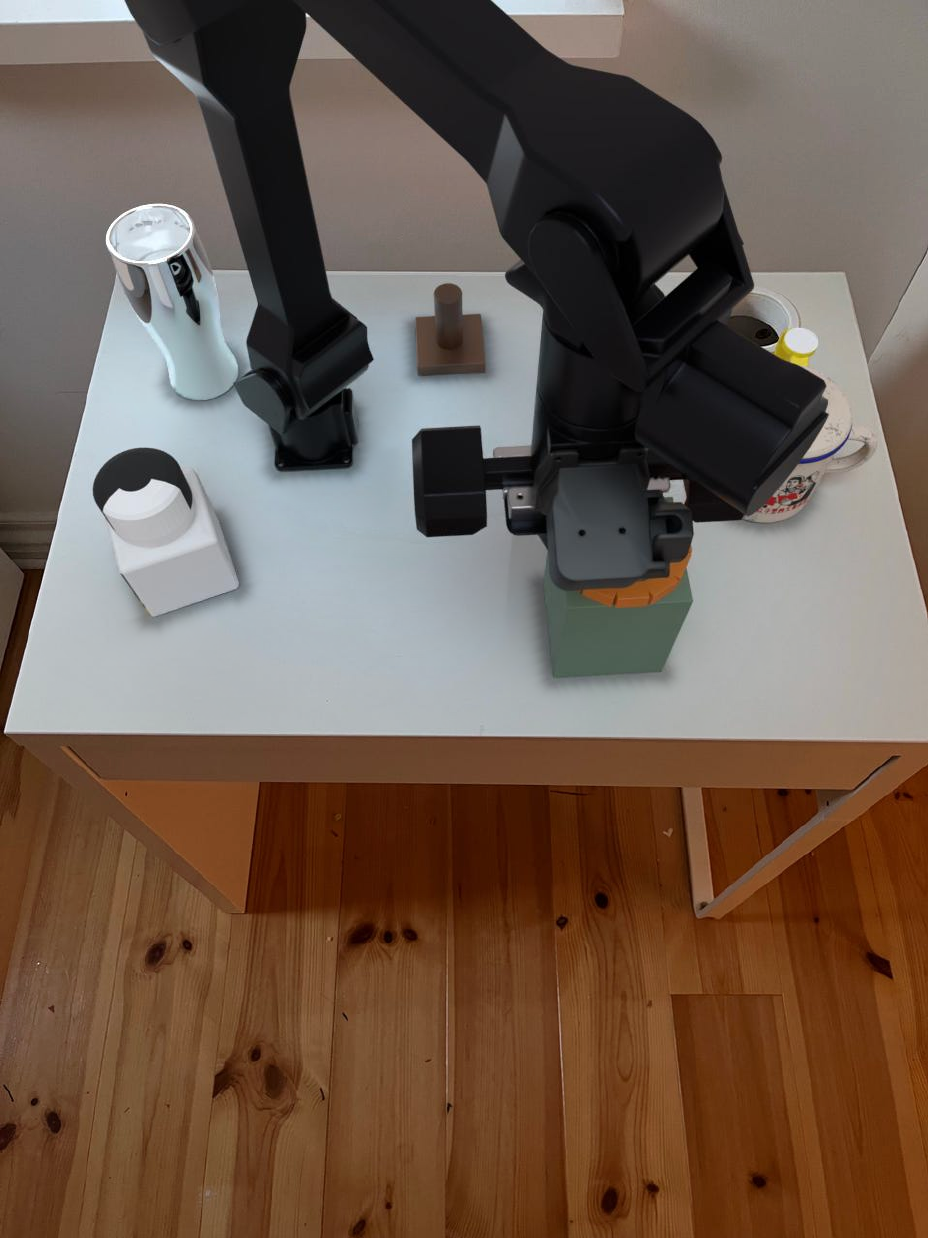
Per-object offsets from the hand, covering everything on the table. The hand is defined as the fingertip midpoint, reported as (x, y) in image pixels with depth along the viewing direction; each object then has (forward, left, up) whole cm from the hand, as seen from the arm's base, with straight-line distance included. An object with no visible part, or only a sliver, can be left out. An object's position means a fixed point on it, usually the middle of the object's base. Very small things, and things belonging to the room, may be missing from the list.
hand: (566, 550), depth 58 cm
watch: (+22, +22, -12) cm, 33 cm away
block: (+4, 0, -11) cm, 12 cm away
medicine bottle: (-28, +7, -12) cm, 31 cm away
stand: (-6, +29, -11) cm, 32 cm away
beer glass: (-28, +27, -12) cm, 41 cm away
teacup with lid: (+20, +12, -12) cm, 26 cm away
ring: (+4, 0, 0) cm, 4 cm away
